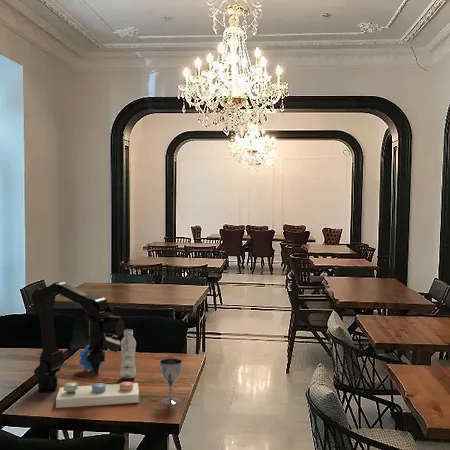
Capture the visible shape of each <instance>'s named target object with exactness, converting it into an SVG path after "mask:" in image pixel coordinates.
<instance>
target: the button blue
mask: <svg viewBox="0 0 450 450" xmlns="http://www.w3.org/2000/svg"><path fill="white" fill-rule="evenodd" d="M106 385H107V384H105V383H103V382H101V383H100V382H98V383H94V384H92V385H91V386H92V391H93V392H103V391H105V390H106Z"/></svg>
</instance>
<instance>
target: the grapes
mask: <svg viewBox="0 0 450 450" xmlns="http://www.w3.org/2000/svg"><path fill="white" fill-rule="evenodd" d="M88 348H89V344H88V345H86V346H85V347H84V350H82V351H81V352H80V353H79V357H80V359H79V361H78V363H79V365H80V366H82V369H83V370H84V371H90V372H94V371H93V369H92V366H91V364H90V362H87V354H88V353H89V352H90V351H91V350H88ZM102 351H103V352H104V350H102ZM102 365H103V362H100V366H99V368H101V367H102Z"/></svg>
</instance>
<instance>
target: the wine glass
mask: <svg viewBox="0 0 450 450" xmlns="http://www.w3.org/2000/svg"><path fill="white" fill-rule="evenodd" d="M182 361H183V360H182V359H180V358H177V357H167V358H163V359H161V360H160V361H159V367H160V368H159V369H160V375H161V378H162V379H163V380H164V381H165V383H167V386H168V390H169V397H165V398H162V399H161V400H160V403H161V404H162V405H164V406H175V405H178V404H180V403H181V399H180V398H177V397H173V395H172V393H173V387H174V384H175V383H176V382H177V381H178V380H179V379H180V376H181V374H182V373H181V372H182V366H183V362H182Z"/></svg>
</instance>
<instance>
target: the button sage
mask: <svg viewBox="0 0 450 450" xmlns="http://www.w3.org/2000/svg"><path fill="white" fill-rule="evenodd" d="M78 386H79V383H78V382H67V383H64V384H63V387H64V391H67V394H74V391H75V390H77V389H78Z"/></svg>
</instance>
